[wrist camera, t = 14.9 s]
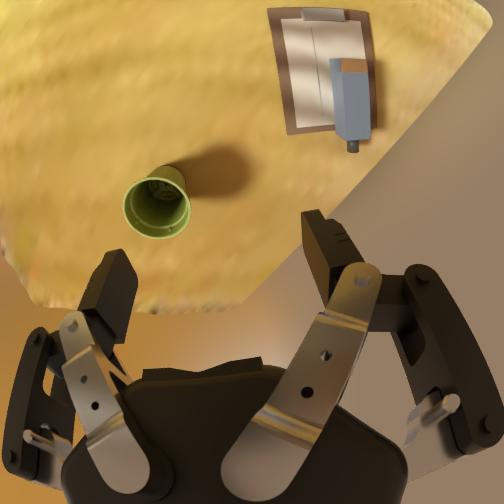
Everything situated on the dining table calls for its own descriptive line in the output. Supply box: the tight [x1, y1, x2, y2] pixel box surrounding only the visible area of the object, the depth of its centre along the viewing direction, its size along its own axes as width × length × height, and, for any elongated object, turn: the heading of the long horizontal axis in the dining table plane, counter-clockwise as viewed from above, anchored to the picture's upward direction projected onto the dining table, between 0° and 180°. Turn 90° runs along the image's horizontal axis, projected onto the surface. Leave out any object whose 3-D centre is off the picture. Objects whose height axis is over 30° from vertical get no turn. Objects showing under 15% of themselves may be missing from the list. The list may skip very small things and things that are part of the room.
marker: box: [329, 58, 371, 153], centre depth 32 cm, size 14×4×4 cm, turn 9°
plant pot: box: [123, 166, 191, 239], centre depth 37 cm, size 9×9×9 cm
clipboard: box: [267, 7, 377, 135], centre depth 30 cm, size 20×15×2 cm
